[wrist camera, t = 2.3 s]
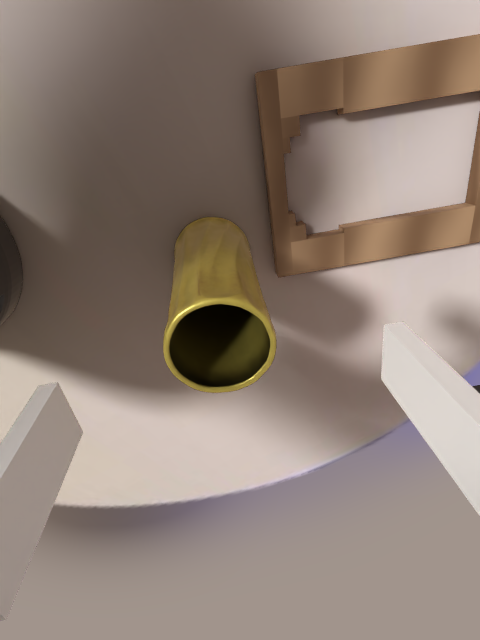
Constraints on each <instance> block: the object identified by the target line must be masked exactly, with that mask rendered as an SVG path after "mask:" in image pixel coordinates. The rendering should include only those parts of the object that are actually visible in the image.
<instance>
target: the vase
mask: <svg viewBox="0 0 480 640" xmlns="http://www.w3.org/2000/svg"><path fill="white" fill-rule="evenodd" d="M174 258H175V264H174V271H173V282H172V291H171V301H170V306H169V314H168V322H167V325H166V328H165V332H164V340H163V354H164V358H165V361H166V364H167V366H168V367H169V369H170V371H171V372H172V373H173V375H174V376H175V377H176V378H177V379H179V380H180V381H181V382H183V383H185V384H186V385H188V386H189V387H191V388H193V389H196V390H199V391H203V392H210V393H221V392H230V391H235V390H239V389H241V388H244V387H247V386H249V385H251V384H253V383H254V382H256V381H257V380H258V379H259V378H260V377H261V376H262V375H263V374H264V373H265V372H266V371H267V370H268V368H269V367H270V365H271V364H272V362H273V360H274V356H275V352H276V333H275V329H274V327H273V324H272V322H271V319H270V316H269V313H268V310H267V307H266V304H265V301H264V299H263V296H262V293H261V289H260V286H259V283H258V279H257V275H256V272H255V268H254V264H253V260H252V257H251V253H250V246H249V243H248V240H247V238H246V236H245V234H244V233H243V231H242V230H241V229H240V228H239V227H238V226H236V225H235V224H234V223H232V222H231V221H229V220H226V219H223V218H218V217H205V218H201V219H198V220H196V221H194V222H192V223H190V224H189V225H187V226H186V227H185V228H184V229H183V231H182V232H181V233H180V235H179V237H178V239H177V241H176V244H175V250H174Z"/></svg>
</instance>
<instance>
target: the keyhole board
mask: <svg viewBox="0 0 480 640" xmlns="http://www.w3.org/2000/svg"><path fill="white" fill-rule="evenodd" d="M255 81H256V90H257V100H258V109H259V119H260V128H261V137H262V147H263V156H264V166H265V175H266V184H267V194H268V203H269V213H270V222H271V231H272V241H273V250H274V260H275V269H276V274H277V276H278V277H285V276H290V275H296V274H302V273H307V272H313V271H319V270H324V269H330V268H336V267H341V266H347V265H353V264H358V263H364V262H369V261H375V260H381V259H386V258H392V257H398V256H403V255H409V254H415V253H420V252H426V251H432V250H437V249H443V248H449V247H454V246H460V245H466V244H471V243H477V242H480V113H479V120H478V126H477V132H476V139H475V145H474V151H473V158H472V164H471V170H470V177H469V183H468V189H467V196H466V202H465V203H462V204H456V205H450V206H445V207H439V208H433V209H428V210H422V211H416V212H411V213H405V214H399V215H393V216H388V217H382V218H376V219H371V220H365V221H359V222H354V223H348V224H342V225H339V229H338V230H332V231H327V232H321V233H315V234H310V235H306V224H305V223H304V222H302V221H299V222H296V218H295V213H294V212H293V211H292V210H291V211H288V200H287V188H286V175H285V163H284V154H285V153H291V148H290V137H295V136H301V135H300V118H299V115H305V114H311V113H316V112H322V111H328V110H334V109H337V115H339V114H345V113H351V112H357V111H363V110H369V109H375V108H380V107H386V106H392V105H398V104H404V103H410V102H415V101H421V100H427V99H433V98H439V97H444V96H450V95H456V94H462V93H468V92H474V91H479V90H480V34H478V35H472V36H466V37H460V38H454V39H448V40H442V41H437V42H431V43H425V44H419V45H413V46H407V47H401V48H395V49H389V50H384V51H378V52H372V53H366V54H360V55H354V56H348V57H342V58H336V59H331V60H325V61H319V62H313V63H307V64H301V65H295V66H289V67H283V68H277V69H272V70H266V71H260V72H257V73H256V74H255Z"/></svg>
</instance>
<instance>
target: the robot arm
mask: <svg viewBox="0 0 480 640" xmlns="http://www.w3.org/2000/svg"><path fill="white" fill-rule="evenodd" d="M22 281H23V274H22V265H21V259H20V256H19V252H18V249H17V246H16V244H15V241H14V239H13V237H12V235H11V233H10V231H9V229H8V228H7V226H6V224H5V223H4V221H3V220H2V218H1V217H0V325H1V324H2V323H3V322H4V321H5V320H6V319H7V318H8V317H9V316H10V315H11V313H12V312H13V310H14V309H15V307H16V305H17V303H18V300H19V298H20V294H21V290H22ZM381 380H382V381H383V383H384V384H385V385H386V387H387V388H388V390H389V391H390V392H391V394H392V395H393V397H394V398H395V399H396V401H397V402H398V403H399V405H400V406H401V408H402V409H403V410H404V412H405V413H406V415H407V416H408V417H409V419H410V420H411V422H412V423H413V424H414V425H415V427H416V428H417V430H418V431H419V432H420V434H421V435H422V436H423V438H424V440H425V441H426V442H427V444H428V445H429V446H430V448H431V449H432V451H433V452H434V453H435V455H436V456H437V457H438V459H439V460H440V462H441V463H442V464H443V465H444V467H445V469H446V470H447V471H448V473H449V474H450V475H451V477H452V478H453V480H454V481H455V482H456V484H457V485H458V487H459V488H460V489H461V491H462V492H463V493H464V495H465V496H466V497H467V499H468V500H469V502H470V503H471V505H472V506H473V507H474V509H475V510H476V511H477V513H478V514H479V516H480V385H477V386H471V385H470V384H469V383H468V382H467V381H466V380H465V379H464V378H463V377H461V376H460V375H459V374H458V373H457V372H456V371H455V370H454V369H453V368H452V367H451V366H450V365H449V364H448V363H447V362H446V361H444V360H443V359H442V358H441V357H440V356H439V355H438V354H437V353H436V352H435V351H434V350H433V349H432V348H431V347H430V346H429V345H427V344H426V343H425V342H424V341H423V340H422V339H421V338H420V337H419V336H418V335H417V334H416V333H415V332H414V331H413V330H411V329H410V328H409V327H408V326H407V325H406V324H405V323H404V322H403V321H402V322H396V323H391V324H385V325H384V333H383V351H382V370H381ZM82 434H83V431H82V429H81V427H80V425H79V423H78V421H77V419H76V417H75V415H74V413H73V411H72V409H71V407H70V405H69V403H68V401H67V399H66V397H65V395H64V393H63V391H62V389H61V388H60V386H59V384H58V382H57V383H51V384H45V385H40V386H38V387H37V389H36V390H35V392H34V393H33V395H32V396H31V398H30V399H29V401H28V403H27V404H26V406H25V407H24V409H23V410H22V412H21V413H20V415H19V416H18V418H17V419H16V421H15V422H14V424H13V425H12V427H11V428H10V430H9V431H8V433H7V434H6V436H5V437H4V439H3V440H2V442H1V443H0V621H3V620H6V619H7V617H8V614H9V612H10V610H11V607H12V605H13V602H14V600H15V597H16V595H17V592H18V590H19V587H20V585H21V583H22V580H23V578H24V575H25V573H26V570H27V568H28V566H29V563H30V560H31V558H32V556H33V553H34V551H35V549H36V546H37V543H38V541H39V539H40V536H41V534H42V531H43V529H44V526H45V524H46V522H47V519H48V517H49V514H50V512H51V509H52V507H53V505H54V502H55V500H56V497H57V495H58V492H59V490H60V487H61V485H62V483H63V480H64V478H65V475H66V473H67V470H68V468H69V465H70V463H71V461H72V458H73V456H74V453H75V451H76V448H77V446H78V443H79V441H80V439H81V436H82Z"/></svg>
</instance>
